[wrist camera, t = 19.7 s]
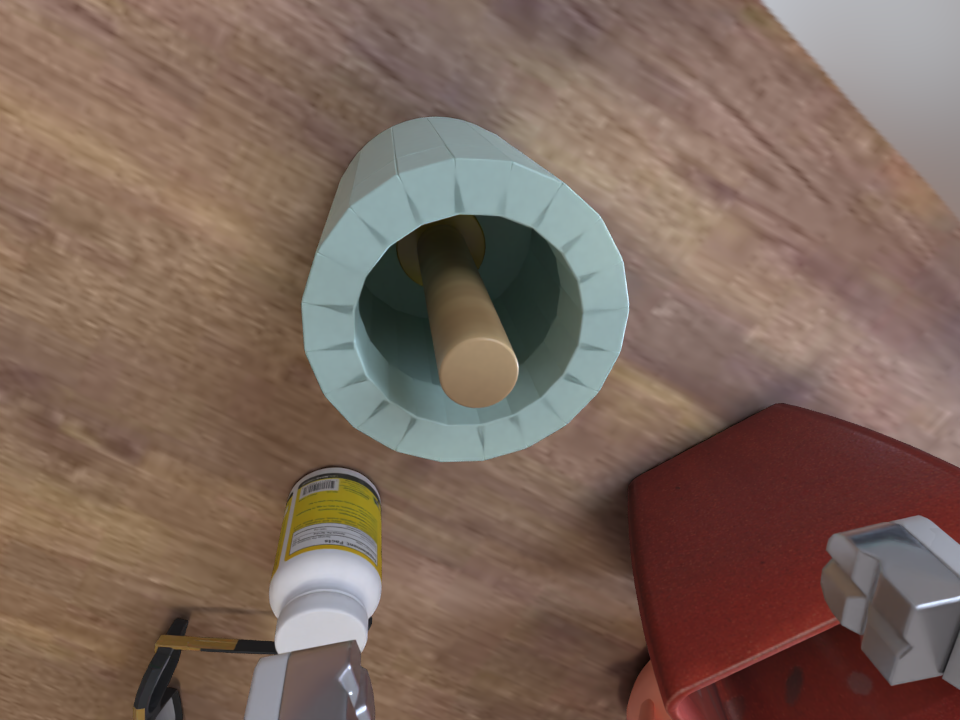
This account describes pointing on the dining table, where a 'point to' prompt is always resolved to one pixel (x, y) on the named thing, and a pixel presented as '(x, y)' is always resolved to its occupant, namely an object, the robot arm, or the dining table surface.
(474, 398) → the beige handle with collar
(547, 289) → the mint green tube
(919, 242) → the dining table surface
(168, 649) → the sunglasses
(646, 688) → the teapot
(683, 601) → the flower pot
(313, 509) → the pill bottle
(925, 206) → the dining table surface
